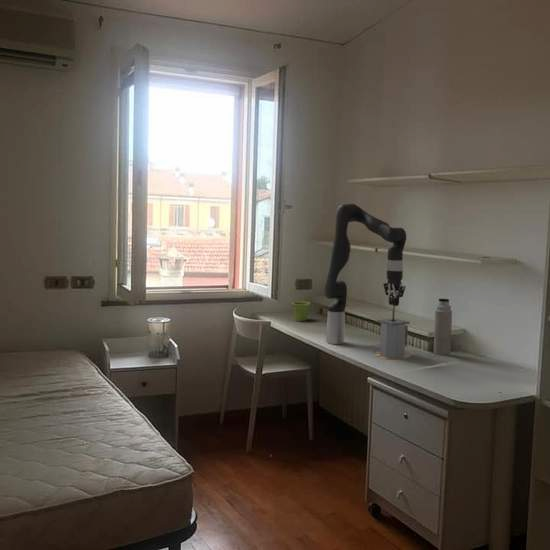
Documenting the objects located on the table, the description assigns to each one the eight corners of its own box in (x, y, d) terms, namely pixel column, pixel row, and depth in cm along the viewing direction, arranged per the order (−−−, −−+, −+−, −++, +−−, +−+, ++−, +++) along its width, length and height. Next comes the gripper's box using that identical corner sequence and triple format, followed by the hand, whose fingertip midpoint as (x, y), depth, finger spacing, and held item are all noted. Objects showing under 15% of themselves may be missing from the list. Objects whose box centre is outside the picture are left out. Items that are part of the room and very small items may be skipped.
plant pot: (292, 318, 404) (292, 301, 403) (310, 319, 402) (310, 301, 401) (290, 321, 392) (290, 304, 391) (309, 322, 391) (309, 304, 389)
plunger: (380, 334, 300) (381, 295, 298) (393, 333, 304) (394, 294, 302) (391, 337, 293) (393, 297, 291) (405, 336, 297) (406, 296, 295)
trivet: (365, 355, 303) (365, 353, 303) (394, 351, 312) (394, 349, 312) (390, 363, 288) (390, 361, 288) (419, 359, 297) (419, 357, 296)
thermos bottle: (449, 353, 309) (451, 298, 306) (450, 357, 301) (453, 300, 298) (433, 352, 310) (435, 297, 307) (434, 356, 302) (436, 299, 299)
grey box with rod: (375, 354, 302) (376, 319, 300) (398, 351, 309) (399, 317, 307) (390, 359, 292) (392, 323, 290) (413, 355, 299) (415, 321, 297)
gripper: (379, 268, 299) (378, 303, 301) (398, 271, 287) (397, 307, 289) (391, 268, 303) (390, 302, 305) (410, 270, 291) (409, 306, 293)
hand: (393, 305), depth 297 cm, fingers closed on plunger, 3 cm apart
